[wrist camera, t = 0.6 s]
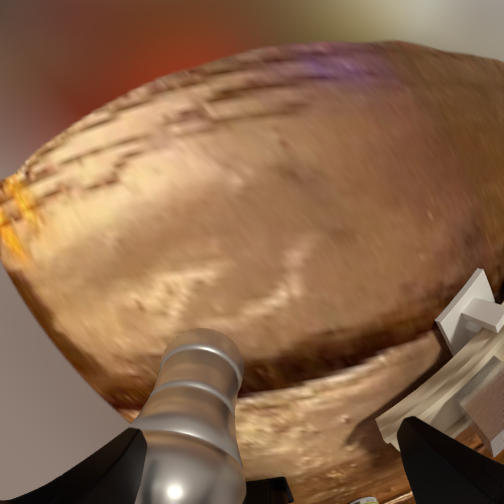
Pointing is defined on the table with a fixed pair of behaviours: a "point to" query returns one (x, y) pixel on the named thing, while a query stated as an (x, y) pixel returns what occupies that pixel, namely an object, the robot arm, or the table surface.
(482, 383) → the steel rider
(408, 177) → the table surface
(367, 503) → the supplement bottle
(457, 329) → the beam stand
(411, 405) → the balance beam
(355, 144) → the table surface
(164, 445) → the silver metal bottle
